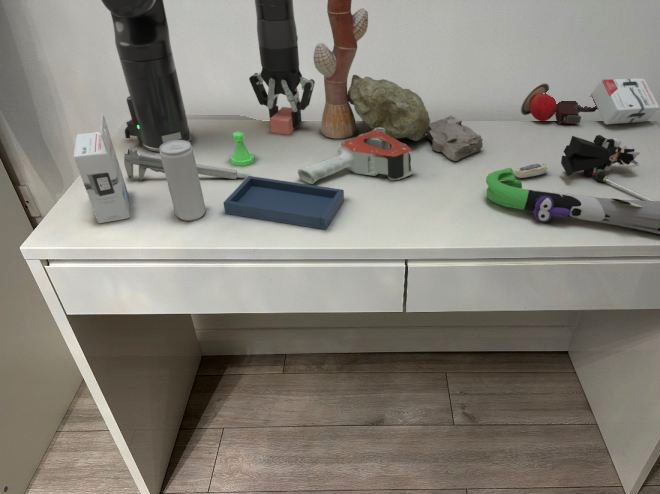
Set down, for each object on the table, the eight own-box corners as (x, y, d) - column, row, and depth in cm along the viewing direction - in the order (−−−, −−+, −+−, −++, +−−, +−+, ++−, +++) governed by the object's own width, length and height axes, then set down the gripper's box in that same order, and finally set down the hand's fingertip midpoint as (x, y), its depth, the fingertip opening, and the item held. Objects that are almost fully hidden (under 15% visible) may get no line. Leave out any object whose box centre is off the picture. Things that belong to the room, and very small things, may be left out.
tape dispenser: (296, 192, 100) (405, 198, 96) (291, 166, 96) (404, 171, 93) (323, 146, 113) (420, 150, 109) (320, 122, 109) (419, 125, 106)
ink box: (603, 78, 119) (645, 77, 123) (589, 94, 123) (630, 92, 127) (619, 109, 116) (661, 107, 120) (604, 125, 120) (645, 122, 124)
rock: (404, 66, 121) (339, 83, 120) (423, 52, 103) (346, 71, 102) (420, 137, 126) (356, 153, 124) (441, 135, 107) (367, 154, 106)
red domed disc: (550, 91, 126) (570, 108, 123) (524, 118, 128) (543, 135, 125) (542, 76, 119) (563, 93, 116) (515, 104, 121) (535, 122, 118)
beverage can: (179, 207, 93) (162, 139, 85) (208, 206, 93) (194, 139, 85) (173, 222, 89) (155, 153, 81) (203, 221, 89) (188, 152, 82)
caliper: (129, 181, 99) (119, 148, 95) (130, 178, 100) (121, 145, 96) (244, 179, 100) (238, 147, 96) (244, 176, 101) (239, 144, 97)
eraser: (271, 132, 116) (269, 119, 114) (284, 120, 121) (282, 106, 120) (288, 135, 115) (287, 121, 114) (301, 122, 121) (300, 108, 119)
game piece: (258, 158, 107) (254, 129, 103) (244, 167, 104) (239, 137, 100) (241, 153, 108) (236, 124, 104) (226, 162, 105) (221, 132, 102)
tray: (225, 213, 91) (223, 202, 90) (250, 186, 98) (248, 175, 97) (325, 229, 88) (325, 218, 87) (344, 200, 95) (343, 189, 94)
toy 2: (627, 177, 85) (704, 175, 89) (562, 129, 100) (631, 129, 104) (610, 220, 90) (684, 216, 94) (550, 168, 105) (617, 167, 109)
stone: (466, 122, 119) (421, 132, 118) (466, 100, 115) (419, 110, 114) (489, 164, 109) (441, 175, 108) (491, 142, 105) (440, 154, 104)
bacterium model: (504, 179, 98) (488, 169, 102) (503, 188, 99) (487, 178, 103) (557, 167, 102) (540, 158, 105) (556, 176, 103) (539, 167, 106)
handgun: (664, 129, 123) (639, 103, 134) (669, 117, 121) (643, 91, 132) (557, 126, 121) (540, 99, 133) (560, 113, 120) (543, 87, 131)
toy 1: (669, 243, 87) (479, 217, 92) (660, 206, 95) (486, 185, 100) (683, 210, 83) (483, 185, 88) (672, 175, 91) (490, 154, 96)
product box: (98, 198, 94) (68, 115, 85) (129, 194, 96) (103, 111, 86) (97, 224, 88) (65, 137, 79) (130, 219, 89) (102, 132, 80)
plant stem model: (317, 138, 114) (307, -26, 95) (319, 124, 119) (309, -34, 100) (368, 138, 114) (368, -26, 95) (367, 124, 120) (367, -33, 101)
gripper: (235, 43, 106) (248, 128, 117) (305, 50, 103) (311, 136, 114) (252, 33, 111) (263, 115, 122) (318, 39, 109) (323, 123, 120)
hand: (286, 125), depth 118 cm, fingers closed on eraser, 4 cm apart
